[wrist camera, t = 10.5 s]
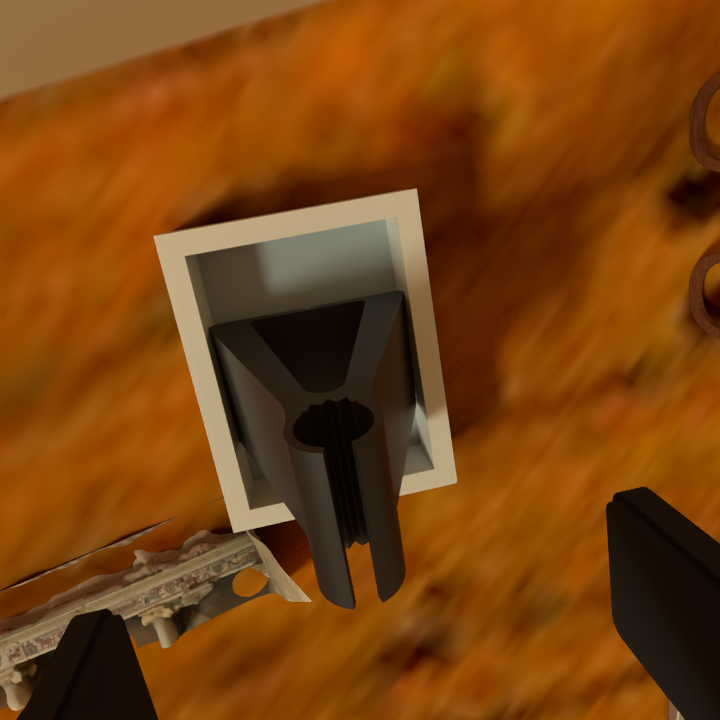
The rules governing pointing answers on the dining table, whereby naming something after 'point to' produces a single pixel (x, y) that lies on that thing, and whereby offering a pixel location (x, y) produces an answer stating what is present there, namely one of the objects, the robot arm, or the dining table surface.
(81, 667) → the robot arm
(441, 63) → the dining table surface
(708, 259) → the glasses
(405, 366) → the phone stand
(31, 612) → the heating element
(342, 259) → the cream rectangular tray
